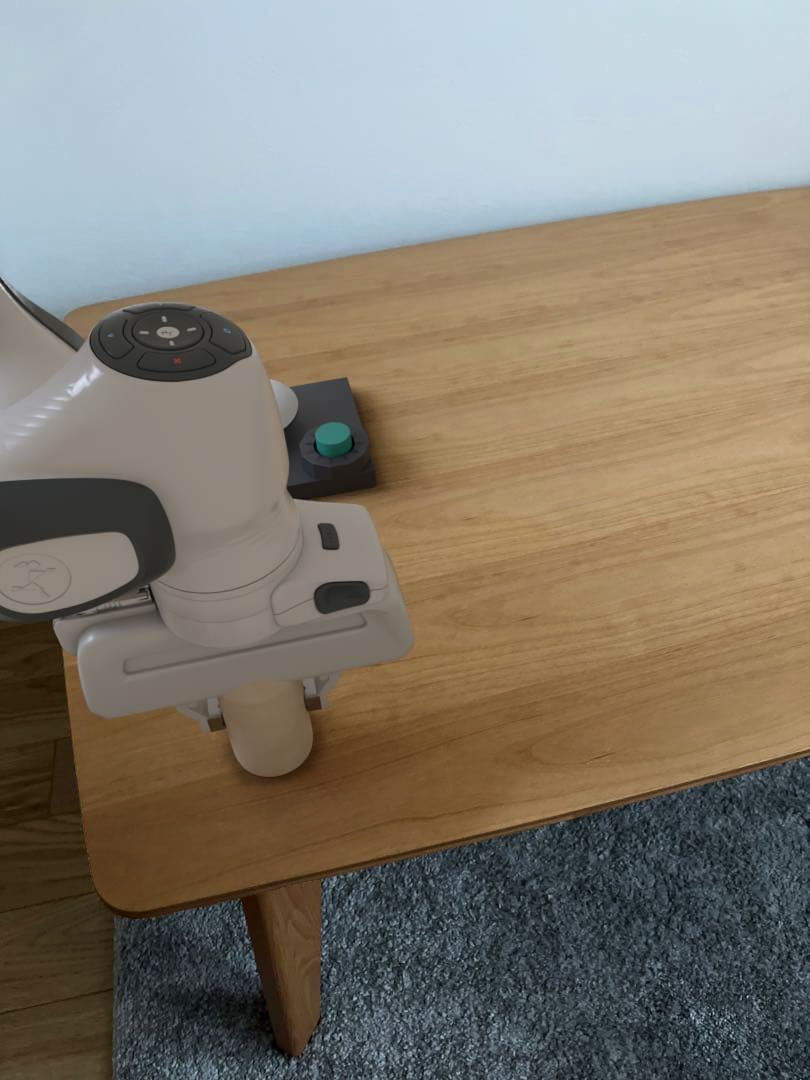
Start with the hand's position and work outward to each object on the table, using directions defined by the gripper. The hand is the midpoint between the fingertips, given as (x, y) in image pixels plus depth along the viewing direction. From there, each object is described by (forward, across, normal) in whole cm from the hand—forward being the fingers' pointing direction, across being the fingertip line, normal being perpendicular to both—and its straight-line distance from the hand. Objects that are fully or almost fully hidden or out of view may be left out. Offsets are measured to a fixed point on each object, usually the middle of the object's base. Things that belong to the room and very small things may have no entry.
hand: (266, 712), depth 67 cm
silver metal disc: (0, +2, +33) cm, 33 cm away
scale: (+4, +4, +31) cm, 31 cm away
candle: (+4, 0, 0) cm, 4 cm away
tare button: (+1, +9, +26) cm, 28 cm away
